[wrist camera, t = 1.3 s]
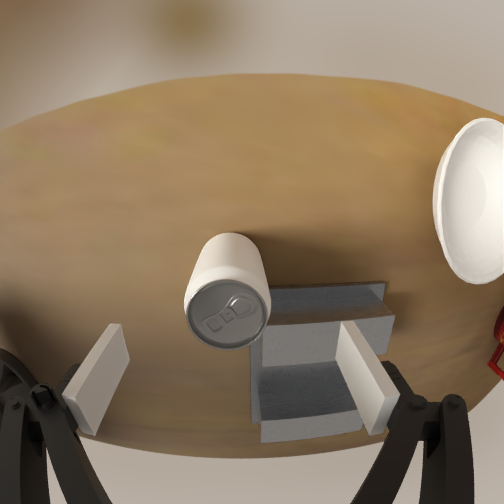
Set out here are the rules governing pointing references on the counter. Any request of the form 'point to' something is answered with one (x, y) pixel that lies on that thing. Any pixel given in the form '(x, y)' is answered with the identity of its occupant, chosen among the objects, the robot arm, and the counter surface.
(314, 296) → the gray metal fixture
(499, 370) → the mug
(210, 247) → the can
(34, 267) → the counter surface
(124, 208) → the counter surface
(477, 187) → the bowl
